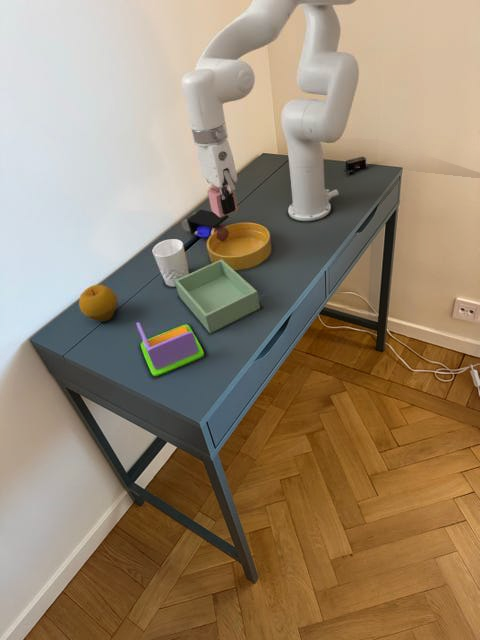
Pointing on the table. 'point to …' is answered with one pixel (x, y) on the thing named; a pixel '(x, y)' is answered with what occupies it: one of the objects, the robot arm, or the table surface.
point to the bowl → (241, 245)
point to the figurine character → (206, 224)
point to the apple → (98, 303)
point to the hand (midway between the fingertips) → (224, 207)
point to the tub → (217, 295)
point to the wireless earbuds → (355, 164)
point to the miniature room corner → (170, 349)
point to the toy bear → (218, 199)
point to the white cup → (171, 260)
